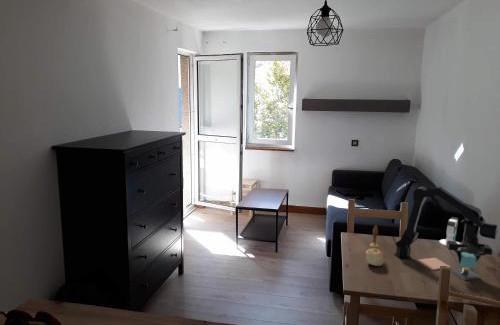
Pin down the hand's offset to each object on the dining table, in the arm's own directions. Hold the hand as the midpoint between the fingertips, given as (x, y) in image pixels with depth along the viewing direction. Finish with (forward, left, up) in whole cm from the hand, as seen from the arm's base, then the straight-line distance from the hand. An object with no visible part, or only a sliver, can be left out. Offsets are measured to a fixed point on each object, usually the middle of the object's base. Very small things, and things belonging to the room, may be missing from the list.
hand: (466, 263), depth 187 cm
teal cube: (0, 0, 0) cm, 0 cm away
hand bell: (-31, +31, -6) cm, 44 cm away
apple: (-38, +19, -6) cm, 43 cm away
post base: (0, 0, -6) cm, 6 cm away
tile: (-7, +13, -6) cm, 16 cm away
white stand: (+23, +35, -6) cm, 42 cm away
